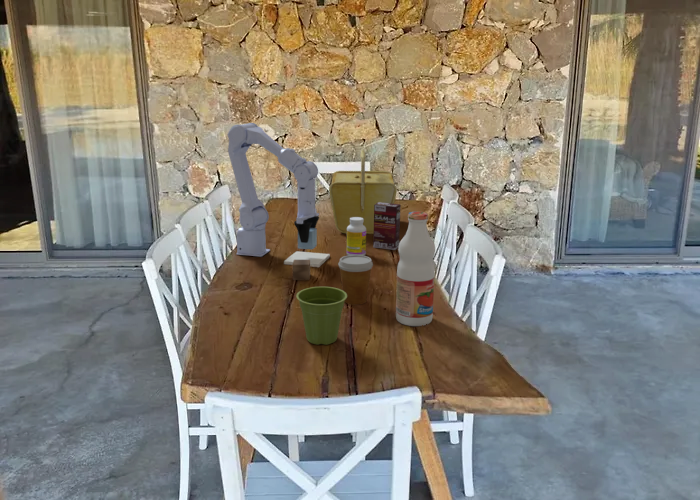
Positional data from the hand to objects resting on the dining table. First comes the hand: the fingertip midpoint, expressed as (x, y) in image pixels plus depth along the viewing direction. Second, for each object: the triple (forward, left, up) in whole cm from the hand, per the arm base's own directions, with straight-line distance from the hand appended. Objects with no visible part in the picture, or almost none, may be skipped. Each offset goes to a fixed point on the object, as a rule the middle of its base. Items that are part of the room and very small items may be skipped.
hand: (307, 240), depth 208 cm
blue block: (0, 0, -2) cm, 2 cm away
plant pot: (+24, -59, -7) cm, 64 cm away
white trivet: (0, 0, -7) cm, 7 cm away
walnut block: (+4, -17, -7) cm, 19 cm away
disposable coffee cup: (+25, -32, -7) cm, 41 cm away
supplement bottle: (+14, +11, -7) cm, 19 cm away
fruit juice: (+43, -41, -7) cm, 60 cm away
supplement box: (+22, +23, -7) cm, 33 cm away
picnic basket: (+6, +51, -7) cm, 52 cm away
